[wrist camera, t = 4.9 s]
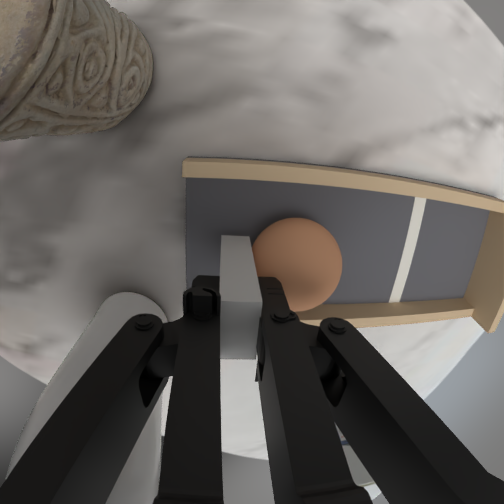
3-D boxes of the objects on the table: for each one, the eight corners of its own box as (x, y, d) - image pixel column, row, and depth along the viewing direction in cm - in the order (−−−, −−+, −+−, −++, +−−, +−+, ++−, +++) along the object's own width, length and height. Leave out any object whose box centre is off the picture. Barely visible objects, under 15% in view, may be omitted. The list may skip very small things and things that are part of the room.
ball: (231, 290, 18) (273, 341, 14) (236, 208, 16) (288, 244, 12) (300, 276, 20) (349, 316, 16) (311, 204, 18) (370, 233, 14)
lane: (188, 307, 20) (180, 357, 16) (188, 156, 17) (174, 168, 12) (463, 301, 23) (494, 331, 18) (494, 196, 19) (536, 216, 15)
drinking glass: (126, 259, 19) (21, 471, 5) (199, 323, 21) (189, 539, 7) (77, 314, 20) (-7, 483, 6) (143, 366, 22) (109, 540, 9)
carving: (117, 2, 12) (14, -92, 1) (184, 82, 15) (109, 9, 4) (42, 71, 13) (-103, 59, 2) (101, 152, 16) (-47, 210, 5)
